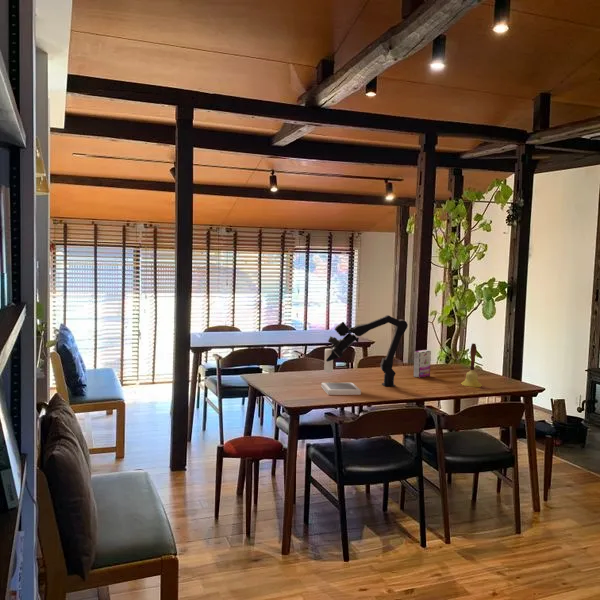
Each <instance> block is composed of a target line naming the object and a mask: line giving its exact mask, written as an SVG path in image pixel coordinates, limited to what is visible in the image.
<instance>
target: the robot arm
mask: <svg viewBox="0 0 600 600" xmlns="http://www.w3.org/2000/svg"><path fill="white" fill-rule="evenodd" d="M388 323H389V324H390V325H393V326H395V327H394V333H393V334H394V335H393V337H392V340H391V343H390V345H389V347H388V350H387V354H386V356H385V357H381V358H382V359H381V362H380V363H379V365H380V369H381V371H382V372H383V373H384V375H383V382H382V383H381V385H382V386H384V387H397V386H396V384H394V383H395V376H396V372H395V371H394V369H393V365H394V357H395V355H396V352H397V350H398V346H399V344H400V341H401V339H402V337H403V335H404V334H405V333H406V330H407V328H408V327H409V326H408V325H409V324H408V322H407V321H406V320H404V319H401V318H400V319H398V318H395V317H392V316H390V315H385V316H382V317H380V318H378V319H375V320H372V321H370V322H368V323H363V324H362V323H361V324H357V325H354V326H353V327H349V326H347V325H346V323H345V322H344V321H342V322H340V323H339V324H338V325H336V326H335V327H334V331H335V332H336V333H337V334H338V335H339V336H340V337H343V338H340V339H337V337H335V336H331V335H330V336H329V338H328V340H327V341H328V343H330V344H331V347H330V349H333V350H332V353H331V355H330V356H329V357H328V358H327V360H326V361H327V362H328V361H331V360H333V361H335V360H336V359H341V358H342V357H343V356H344V352H345V351H346V350H347V349H349V347H350V346H351V345H352V344H353V343H354V342H356V343H359V340H360V339H359V337H361V336H364V335H365V334H367V333H368V332H369V331H371V330H373V329H376V328H379V327H381V326H384V325H386V324H388Z"/></svg>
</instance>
